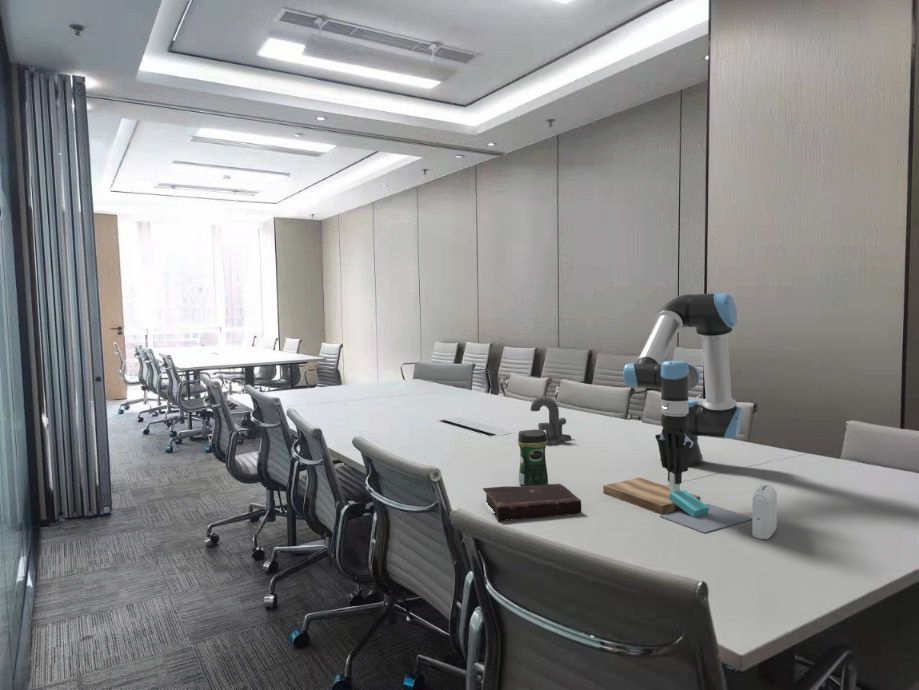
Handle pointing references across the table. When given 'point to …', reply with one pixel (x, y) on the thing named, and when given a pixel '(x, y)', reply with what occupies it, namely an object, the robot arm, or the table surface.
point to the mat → (707, 519)
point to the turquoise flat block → (689, 503)
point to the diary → (532, 501)
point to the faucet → (551, 420)
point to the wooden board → (644, 494)
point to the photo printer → (764, 512)
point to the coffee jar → (532, 458)
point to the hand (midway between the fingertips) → (674, 493)
